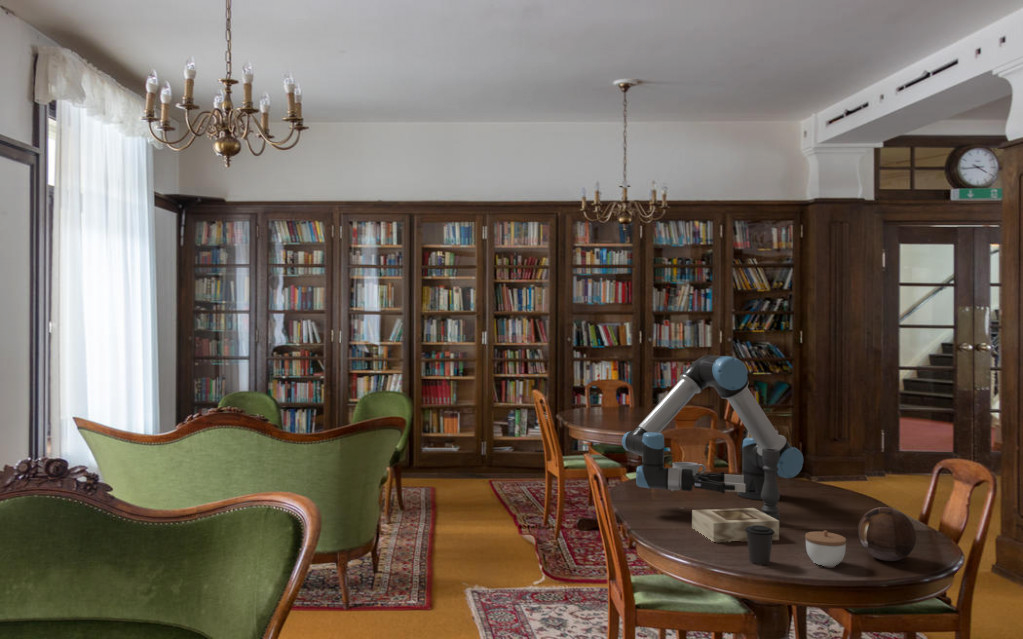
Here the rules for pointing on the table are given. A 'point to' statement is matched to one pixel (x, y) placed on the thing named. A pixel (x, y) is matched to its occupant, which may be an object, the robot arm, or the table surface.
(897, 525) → the clear glass sphere
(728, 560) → the table surface
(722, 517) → the socket block
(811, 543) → the lidded jar
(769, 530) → the coffee cup
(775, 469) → the candle holder
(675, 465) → the teacup
